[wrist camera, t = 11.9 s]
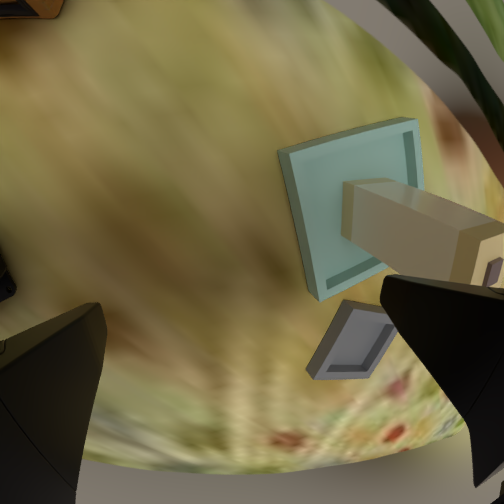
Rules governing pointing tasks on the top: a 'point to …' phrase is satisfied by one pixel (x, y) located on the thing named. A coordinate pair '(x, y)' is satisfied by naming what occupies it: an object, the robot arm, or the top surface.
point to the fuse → (422, 233)
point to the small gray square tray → (353, 343)
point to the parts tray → (331, 190)
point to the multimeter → (30, 8)
